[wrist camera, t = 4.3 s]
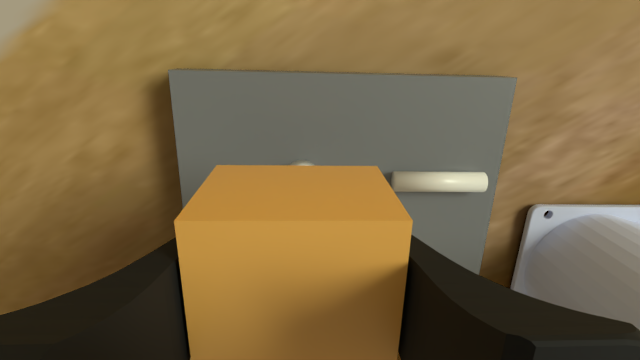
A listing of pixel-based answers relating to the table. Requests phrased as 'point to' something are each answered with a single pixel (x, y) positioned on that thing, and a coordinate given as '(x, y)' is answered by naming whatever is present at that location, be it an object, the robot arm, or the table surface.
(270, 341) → the light wooden brick
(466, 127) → the flat gray rectangular board
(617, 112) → the table surface
